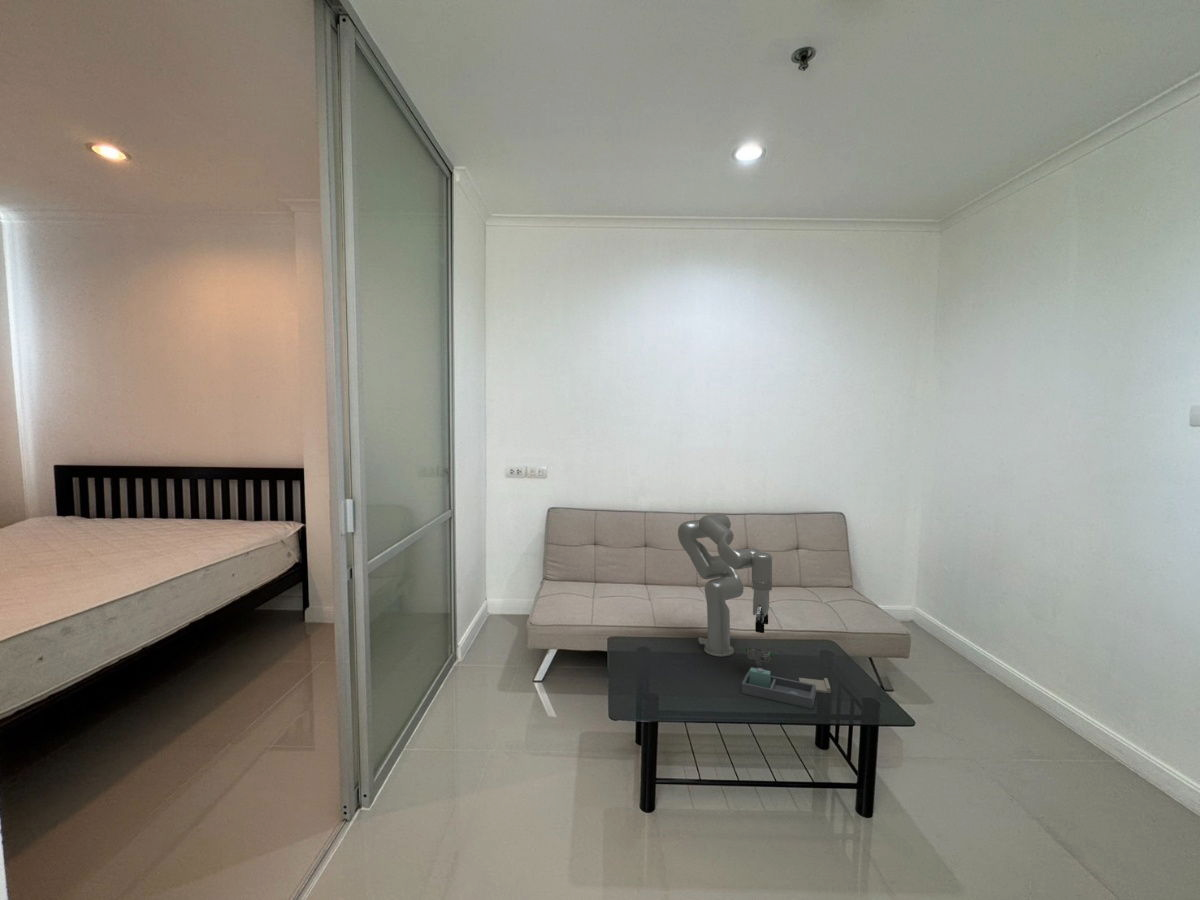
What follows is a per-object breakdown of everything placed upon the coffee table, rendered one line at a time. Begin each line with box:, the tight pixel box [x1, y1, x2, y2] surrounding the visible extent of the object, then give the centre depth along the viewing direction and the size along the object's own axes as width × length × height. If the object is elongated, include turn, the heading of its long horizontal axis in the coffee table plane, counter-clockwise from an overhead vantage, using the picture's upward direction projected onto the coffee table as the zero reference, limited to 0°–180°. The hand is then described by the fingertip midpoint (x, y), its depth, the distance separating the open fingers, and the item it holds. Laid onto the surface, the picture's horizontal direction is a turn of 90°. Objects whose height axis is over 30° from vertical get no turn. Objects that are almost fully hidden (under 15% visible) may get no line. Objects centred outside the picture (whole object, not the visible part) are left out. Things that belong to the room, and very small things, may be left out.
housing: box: [741, 667, 817, 710], centre depth 183 cm, size 24×11×8 cm, turn 62°
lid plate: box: [798, 677, 832, 694], centre depth 188 cm, size 10×8×2 cm
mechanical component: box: [745, 646, 774, 668], centre depth 198 cm, size 3×10×10 cm, turn 58°
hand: (761, 627), depth 197 cm, fingers open, 9 cm apart
